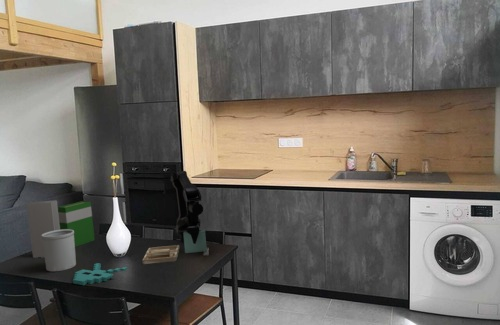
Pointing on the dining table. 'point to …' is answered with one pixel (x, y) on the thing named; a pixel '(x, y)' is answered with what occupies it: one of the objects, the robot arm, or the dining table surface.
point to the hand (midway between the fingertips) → (195, 241)
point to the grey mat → (206, 252)
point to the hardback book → (77, 221)
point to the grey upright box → (41, 223)
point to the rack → (173, 250)
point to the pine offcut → (161, 252)
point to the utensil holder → (59, 249)
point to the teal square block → (199, 244)
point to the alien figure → (94, 275)
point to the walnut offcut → (158, 256)
